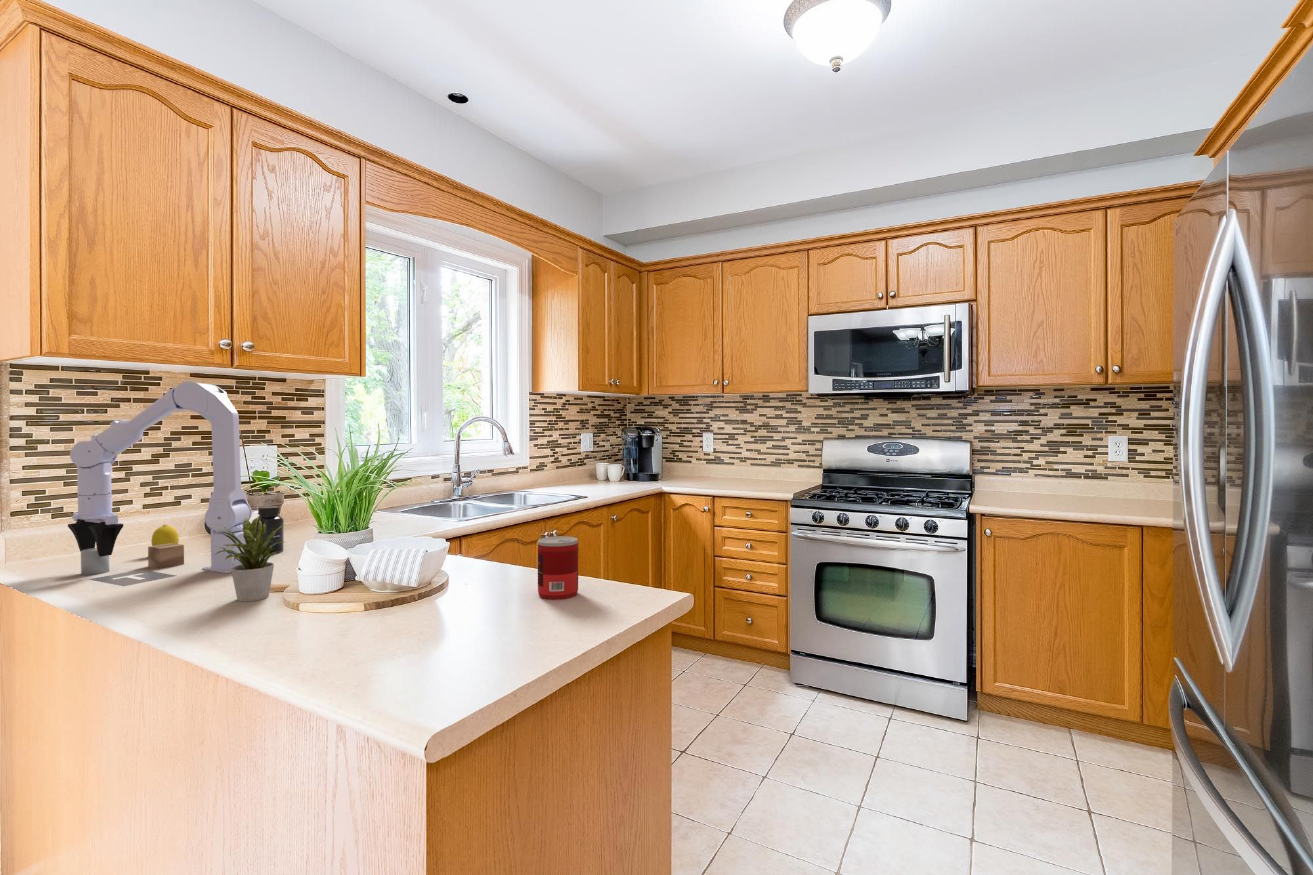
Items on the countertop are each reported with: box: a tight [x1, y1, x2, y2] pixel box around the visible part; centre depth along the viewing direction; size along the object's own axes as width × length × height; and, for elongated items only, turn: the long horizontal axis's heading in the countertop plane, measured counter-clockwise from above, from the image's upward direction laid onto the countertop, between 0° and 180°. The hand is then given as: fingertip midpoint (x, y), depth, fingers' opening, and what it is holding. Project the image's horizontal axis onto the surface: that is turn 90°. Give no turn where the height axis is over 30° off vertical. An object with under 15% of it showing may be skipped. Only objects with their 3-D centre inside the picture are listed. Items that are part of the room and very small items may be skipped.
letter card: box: [88, 569, 177, 587], centre depth 137 cm, size 14×10×1 cm
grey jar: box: [80, 547, 110, 576], centre depth 142 cm, size 5×5×6 cm
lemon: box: [151, 524, 180, 546], centre depth 161 cm, size 6×6×8 cm
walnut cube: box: [147, 543, 185, 569], centre depth 149 cm, size 5×5×5 cm
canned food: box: [537, 535, 579, 600], centre depth 124 cm, size 8×8×11 cm
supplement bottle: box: [255, 505, 285, 555], centre depth 166 cm, size 7×7×12 cm
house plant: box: [211, 515, 287, 602], centre depth 122 cm, size 14×14×16 cm
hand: (96, 554), depth 142 cm, fingers open, 7 cm apart
